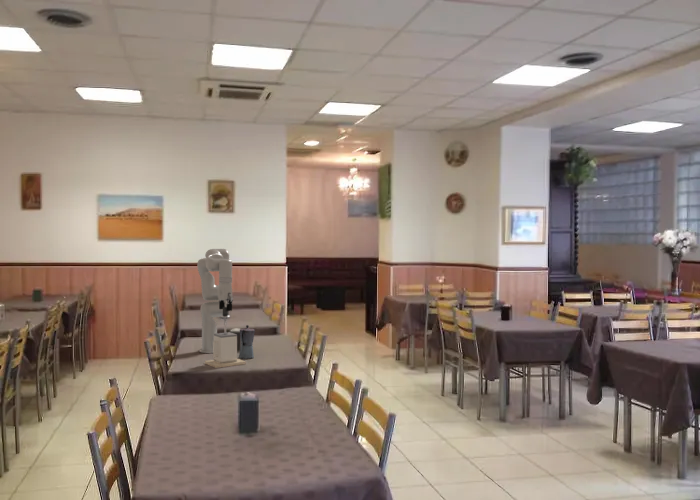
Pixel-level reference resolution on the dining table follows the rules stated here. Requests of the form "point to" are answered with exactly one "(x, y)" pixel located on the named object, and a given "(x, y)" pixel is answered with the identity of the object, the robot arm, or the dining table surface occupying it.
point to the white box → (225, 351)
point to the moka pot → (246, 343)
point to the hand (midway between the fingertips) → (225, 309)
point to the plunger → (225, 315)
